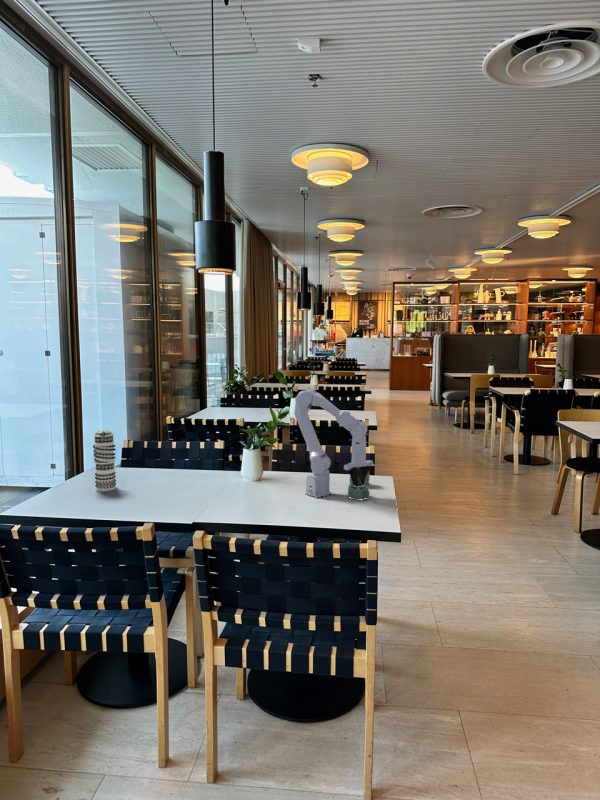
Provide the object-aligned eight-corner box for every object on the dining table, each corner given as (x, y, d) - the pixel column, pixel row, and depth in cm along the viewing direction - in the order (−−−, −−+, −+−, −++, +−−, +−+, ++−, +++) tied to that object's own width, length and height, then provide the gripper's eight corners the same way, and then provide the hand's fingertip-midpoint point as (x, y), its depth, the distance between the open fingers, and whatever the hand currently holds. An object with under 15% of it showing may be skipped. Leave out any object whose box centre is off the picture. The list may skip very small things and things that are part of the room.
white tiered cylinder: (102, 492, 233) (100, 433, 230) (90, 489, 238) (87, 431, 236) (121, 488, 240) (119, 430, 237) (108, 484, 246) (106, 428, 243)
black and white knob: (358, 498, 223) (358, 482, 222) (348, 495, 227) (348, 480, 227) (367, 495, 226) (368, 480, 226) (358, 492, 231) (358, 477, 230)
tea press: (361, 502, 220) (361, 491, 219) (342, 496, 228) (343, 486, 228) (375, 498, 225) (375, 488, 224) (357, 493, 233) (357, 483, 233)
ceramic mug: (368, 488, 240) (368, 471, 240) (349, 487, 242) (349, 470, 241) (370, 482, 251) (370, 466, 250) (352, 481, 252) (352, 465, 252)
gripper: (352, 456, 217) (352, 489, 219) (378, 451, 226) (377, 484, 228) (340, 453, 223) (340, 486, 224) (366, 448, 232) (365, 480, 233)
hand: (358, 485), depth 226 cm, fingers closed on black and white knob, 3 cm apart
